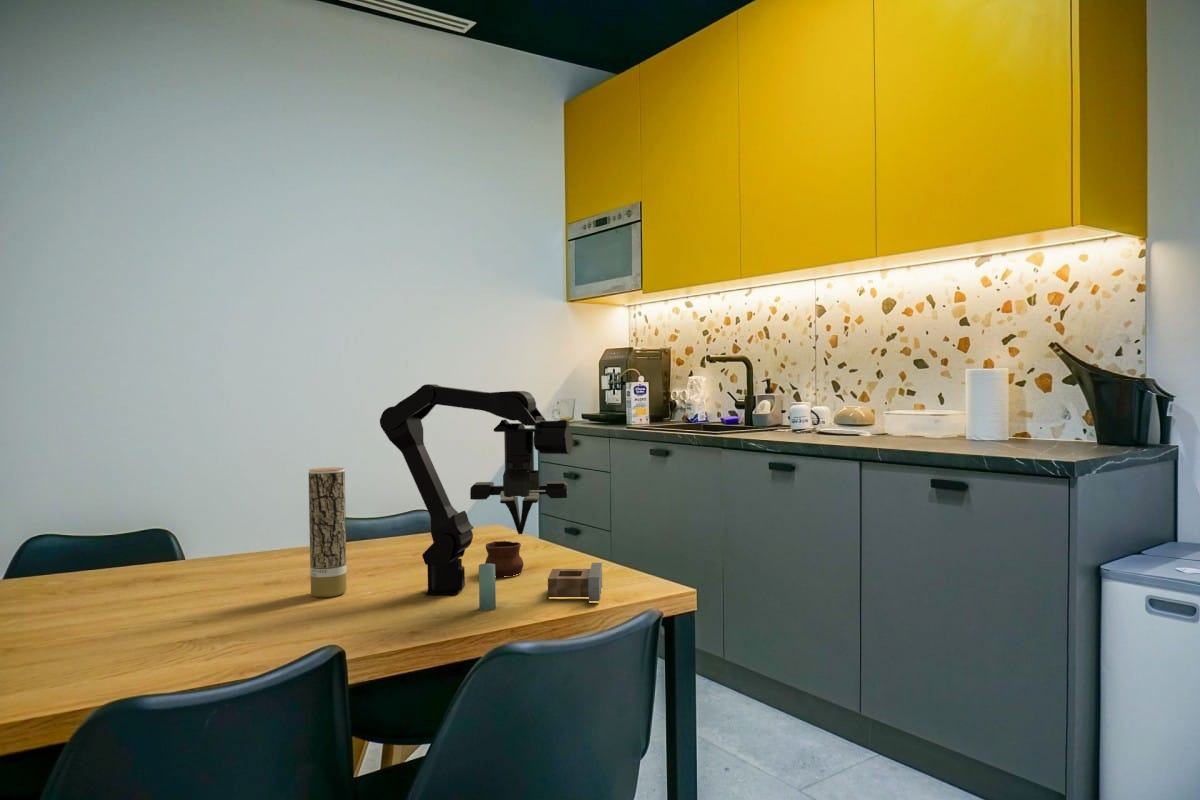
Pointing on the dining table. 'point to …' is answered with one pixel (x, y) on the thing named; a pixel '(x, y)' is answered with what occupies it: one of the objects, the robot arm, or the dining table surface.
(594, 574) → the bar
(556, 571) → the block
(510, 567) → the ceramic pot
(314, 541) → the paper tube
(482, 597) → the dowel
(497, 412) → the robot arm
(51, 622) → the dining table surface
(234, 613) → the dining table surface
